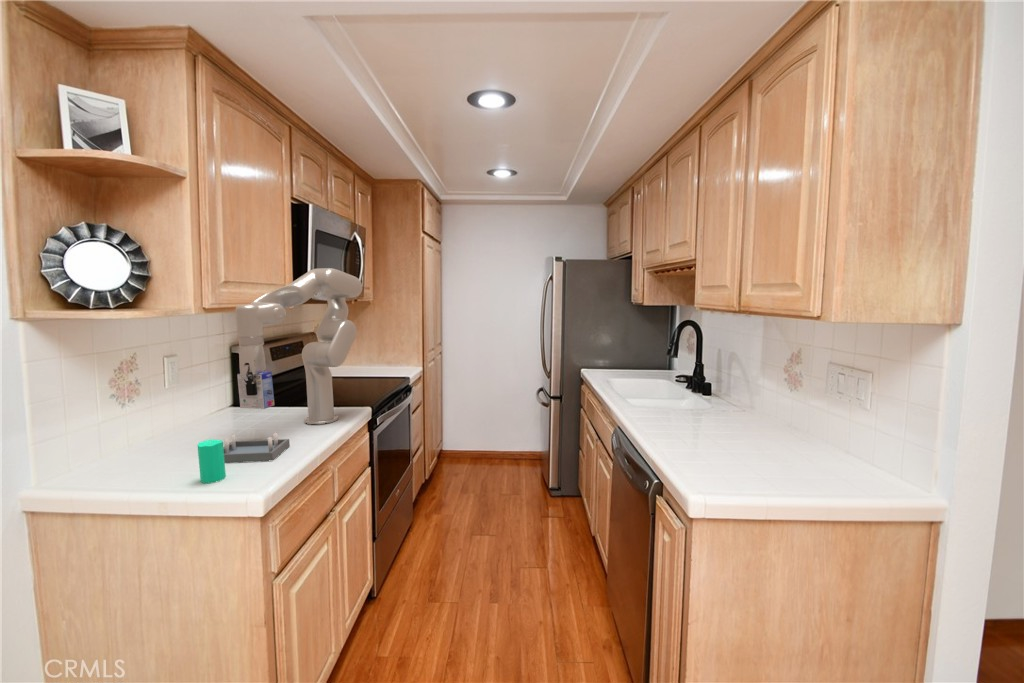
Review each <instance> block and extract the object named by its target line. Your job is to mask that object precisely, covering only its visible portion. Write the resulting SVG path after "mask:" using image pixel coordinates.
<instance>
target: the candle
mask: <svg viewBox="0 0 1024 683" xmlns="http://www.w3.org/2000/svg"><path fill="white" fill-rule="evenodd" d="M223 447H224V440H220V439H211V438H208V439H206V440H203V441H201V442H198V444H197V454H198V455H197V456H198V464H199V465H198V467H199V477H200V482H201V483H202V482H203V483H202V484H212V483H211V482H214V483H217V482H216V481H218V482H221V481H222V479H223V480H224V478H225V479H226V477H227V475H226V463H225V461H224V449H223ZM220 480H221V481H220Z"/></svg>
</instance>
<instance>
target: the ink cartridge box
mask: <svg viewBox="0 0 1024 683" xmlns="http://www.w3.org/2000/svg"><path fill="white" fill-rule="evenodd" d="M272 373H273V372H272V371H271V370H270V371H269V370H268V371H266V370H265V371H262V372H260V373H258V374H256V375H255V383H256V387H257V395H252V396H247V393H246V384H245V381H244V378H243V377H242V376H241V375H240V373H237V375H236V376H237V386H238V395H239V396H238V397H239V398H238V399H239V406H240V409H250V410H251V409H252V410H255V409H256V410H257V409H258V410H259V409H260V410H265V409H268V408H270V407H274V406H275V396H274V385H273V375H272ZM249 374H252V373H248V375H249ZM250 378H251V379H252V377H250Z"/></svg>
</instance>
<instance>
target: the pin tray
mask: <svg viewBox="0 0 1024 683" xmlns="http://www.w3.org/2000/svg"><path fill="white" fill-rule="evenodd" d="M272 435H273V436H268V437H267V439H254V440H236V434H230V441H231V442H230V443H229V438H224V439H223V449H224V461H225V464H230V462H238V463H244V462H243V461H261V462H270V461H269V460H274V459H275V458H276V457H277V456H278V455H279V456H281V453H282V452H283V451H284V450H285V449H286V450H287V449H288V448H290V447H289V446H291V445H290V438H279V436H278V433H277V432H274V433H273V434H272ZM278 438H279V439H278ZM286 450H285V451H286ZM285 451H284V452H285ZM284 452H283V453H284ZM283 453H282V454H283ZM279 456H278V457H279ZM278 457H277V458H278ZM277 458H276V459H277ZM276 459H275V460H276ZM275 460H274V461H275Z"/></svg>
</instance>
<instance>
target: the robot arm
mask: <svg viewBox="0 0 1024 683" xmlns="http://www.w3.org/2000/svg"><path fill="white" fill-rule="evenodd" d="M322 291H323V292H324V295H325V298H326V300H327V301H326V302H327V307H326V310H325V312H324V314H323V317H322V319H321V320H320V322H319V324H318V327H317V329H316V337H317V338H318V339H319V340H320V341H313V342H312V341H311V342H308V343H307V344H305V345H304V347H303V348H302V351H301V358H302V362H303V366H304V370H305V380H306V381H305V382H306V397H307V398H306V399H307V400H306V401H307V414H308V416H307V417H306V418H304V420H303V421H304V424H306V423H307V424H306V425H311V424H318V425H325V423H327V424H330V423H331V424H332V423H334V422H336V421H338V419H339V415H337V414H335V412H334V393H333V392H334V390H333V376H332V372H331V369H330V368H338V367H340V366H341V365H343V364H344V363H345V361H346V359H347V357H348V355H349V353H350V350H351V348H352V346H353V344H354V342H355V339H356V336H357V327H356V325H355V323H354V322H353V321H352V320H349V319H348V316H349V306H348V304H347V302H346V298H350V299H352V298H356V297H357V298H358V297H359V296H360V295H361V294H362V291H363V283H362V281H361V280H360V279H359V278H358V277H357V276H354V275H352V274H350V273H347V272H344V271H342V270H339V269H336V268H332V267H331V268H329V267H326V268H325V267H323V268H313V269H311V270H309V271H307V272H306V273H304V274H302V275H301V276H299V277H298V278H297V279H295V280H293V281H292V282H291V283H289V284H287V285H284V286H281V287H279V288H277V289H275V290H272V291H269V292H266V293H264V294H263V295H260V297H257V298H256V299H255V300H253V301H251V303H249V304H241V305H240V304H239V305H237V306H236V307H235V318H236V319H235V320H236V327H237V328H236V329H237V336H238V337H237V339H238V347H239V352H238V354H239V356H238V358H239V361H238V362H239V374H240V375H241V376H242V377H243V378H244V381H245V384H246V393H247V396H252V395H257V387H256V383H255V375H256V374H258V373H260V372H262V371H266V370H267V369H266V368H267V366H266V365H267V364H266V355H265V350H264V345H265V340H264V330H263V326H264V325H277V324H280V323H282V322H283V321H284V320H285V319H286V316H287V311H286V308H287V309H288V308H291V307H296V306H299V305H303V304H305V303H306V302H308V301H309V300H310V299H311V298H313V297H314V296H316V295H317V294H319V293H320V292H322ZM248 373H252V374H249V375H248ZM250 377H252V379H251V378H250Z"/></svg>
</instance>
